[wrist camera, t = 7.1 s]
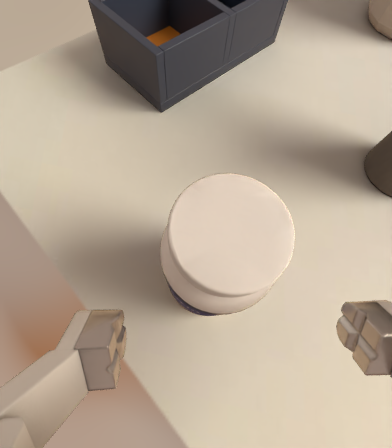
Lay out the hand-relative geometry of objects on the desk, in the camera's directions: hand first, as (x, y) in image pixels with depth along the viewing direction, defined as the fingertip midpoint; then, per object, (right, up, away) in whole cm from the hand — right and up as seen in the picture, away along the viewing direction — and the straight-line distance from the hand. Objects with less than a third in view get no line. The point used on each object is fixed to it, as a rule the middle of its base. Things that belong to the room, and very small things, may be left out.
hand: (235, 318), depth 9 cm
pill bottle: (-1, 0, +9) cm, 9 cm away
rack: (-2, +23, +18) cm, 29 cm away
